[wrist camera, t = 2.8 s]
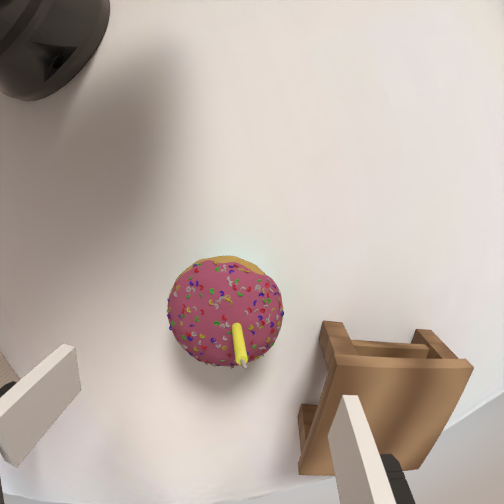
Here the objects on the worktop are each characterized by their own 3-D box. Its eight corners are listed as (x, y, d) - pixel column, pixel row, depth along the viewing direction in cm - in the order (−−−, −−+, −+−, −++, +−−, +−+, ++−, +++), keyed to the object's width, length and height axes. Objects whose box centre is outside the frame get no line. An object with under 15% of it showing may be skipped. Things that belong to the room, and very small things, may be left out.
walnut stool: (294, 418, 30) (298, 474, 22) (320, 317, 28) (337, 364, 20) (396, 420, 30) (418, 469, 22) (434, 327, 27) (474, 367, 19)
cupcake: (274, 238, 26) (278, 283, 15) (287, 332, 28) (296, 422, 16) (173, 252, 27) (110, 302, 15) (193, 342, 29) (155, 428, 17)
